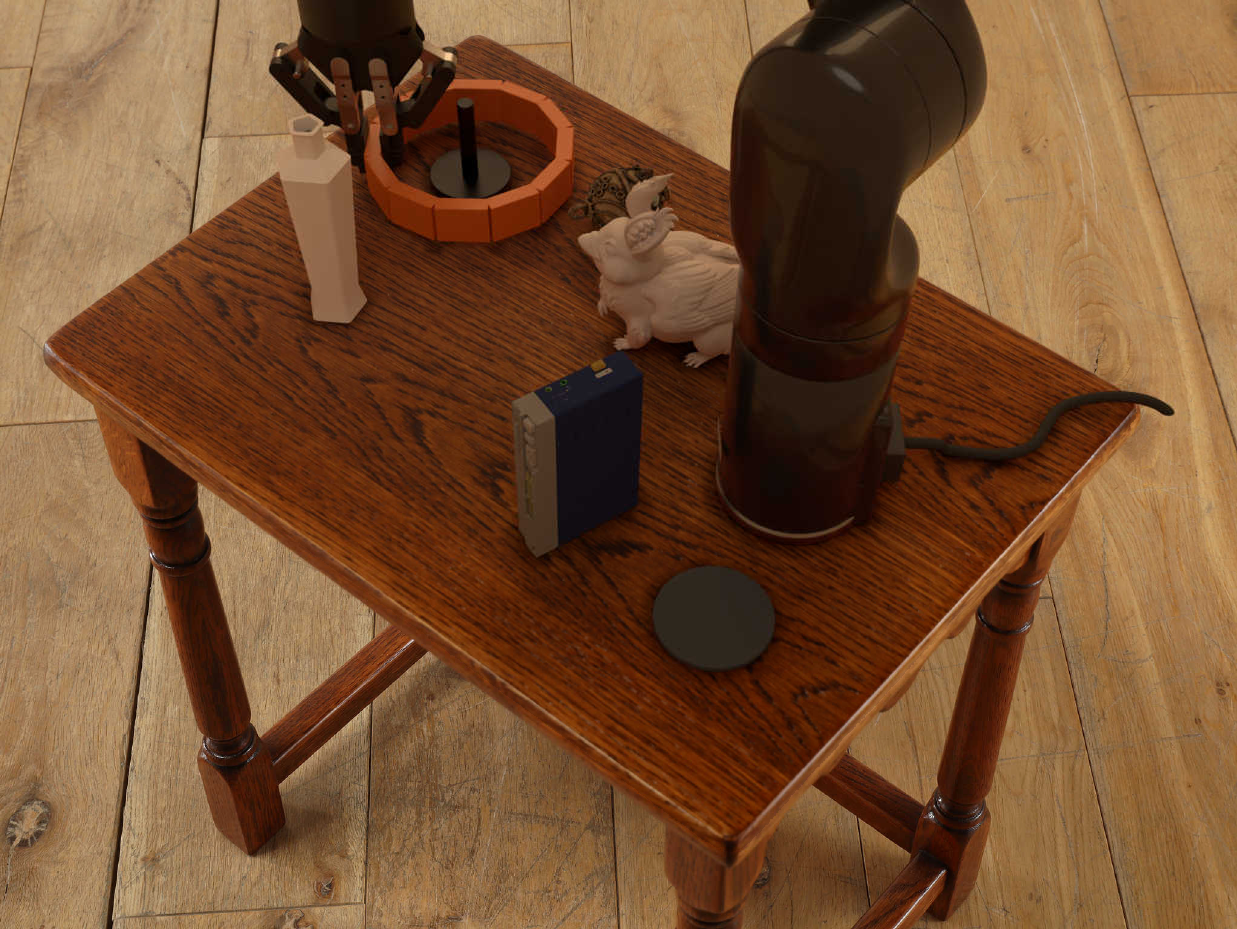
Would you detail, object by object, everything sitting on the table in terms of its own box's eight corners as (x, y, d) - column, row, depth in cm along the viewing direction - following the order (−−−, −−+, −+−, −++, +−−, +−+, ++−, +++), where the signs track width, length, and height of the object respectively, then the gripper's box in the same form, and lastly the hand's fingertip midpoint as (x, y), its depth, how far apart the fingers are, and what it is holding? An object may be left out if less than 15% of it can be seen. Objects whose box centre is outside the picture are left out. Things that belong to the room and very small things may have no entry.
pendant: (682, 239, 105) (686, 184, 101) (582, 266, 103) (582, 211, 99) (654, 195, 108) (656, 140, 104) (556, 221, 106) (555, 166, 102)
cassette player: (618, 480, 91) (622, 344, 82) (639, 505, 90) (646, 370, 81) (515, 532, 88) (507, 398, 79) (536, 559, 87) (530, 426, 78)
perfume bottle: (377, 282, 102) (351, 103, 90) (364, 327, 99) (335, 148, 88) (312, 277, 102) (277, 97, 91) (297, 322, 99) (259, 142, 88)
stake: (514, 155, 111) (510, 77, 105) (509, 208, 107) (504, 130, 102) (434, 154, 111) (426, 75, 105) (426, 207, 107) (417, 128, 102)
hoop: (577, 113, 113) (576, 80, 111) (569, 244, 104) (568, 211, 101) (383, 109, 113) (379, 77, 111) (358, 240, 104) (352, 207, 101)
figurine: (575, 295, 101) (574, 147, 92) (791, 284, 102) (813, 137, 93) (583, 381, 96) (582, 234, 87) (811, 370, 97) (836, 223, 87)
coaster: (771, 570, 87) (772, 567, 87) (777, 673, 83) (778, 669, 82) (652, 568, 87) (652, 564, 87) (652, 670, 82) (652, 666, 82)
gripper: (231, -18, 92) (277, 198, 106) (449, -13, 92) (467, 202, 106) (252, -82, 97) (294, 132, 110) (459, -78, 97) (476, 136, 110)
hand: (379, 166), depth 108 cm, fingers closed on hoop, 1 cm apart
